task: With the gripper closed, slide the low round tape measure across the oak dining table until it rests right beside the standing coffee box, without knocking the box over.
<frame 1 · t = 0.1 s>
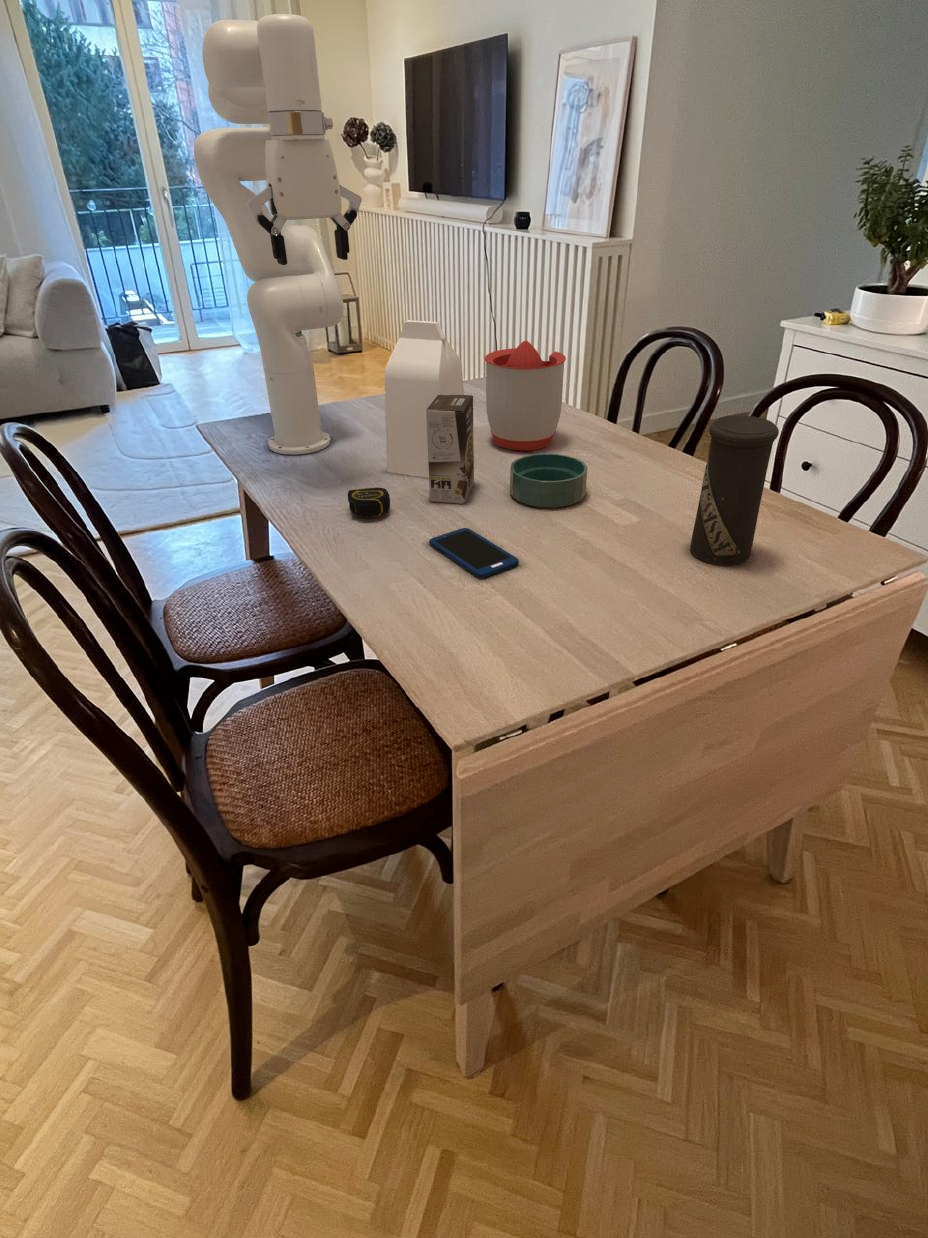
hand: (312, 261, 112), 37 cm above the table, tool pointing down, fingers open, 9 cm apart
citrus juicer: (524, 441, 150), on the table
coffee box: (452, 493, 128), on the table
cell phone: (472, 554, 109), on the table
container: (719, 554, 108), on the table
green bowl: (547, 494, 127), on the table
tape measure: (368, 513, 122), on the table
milk: (428, 466, 139), on the table
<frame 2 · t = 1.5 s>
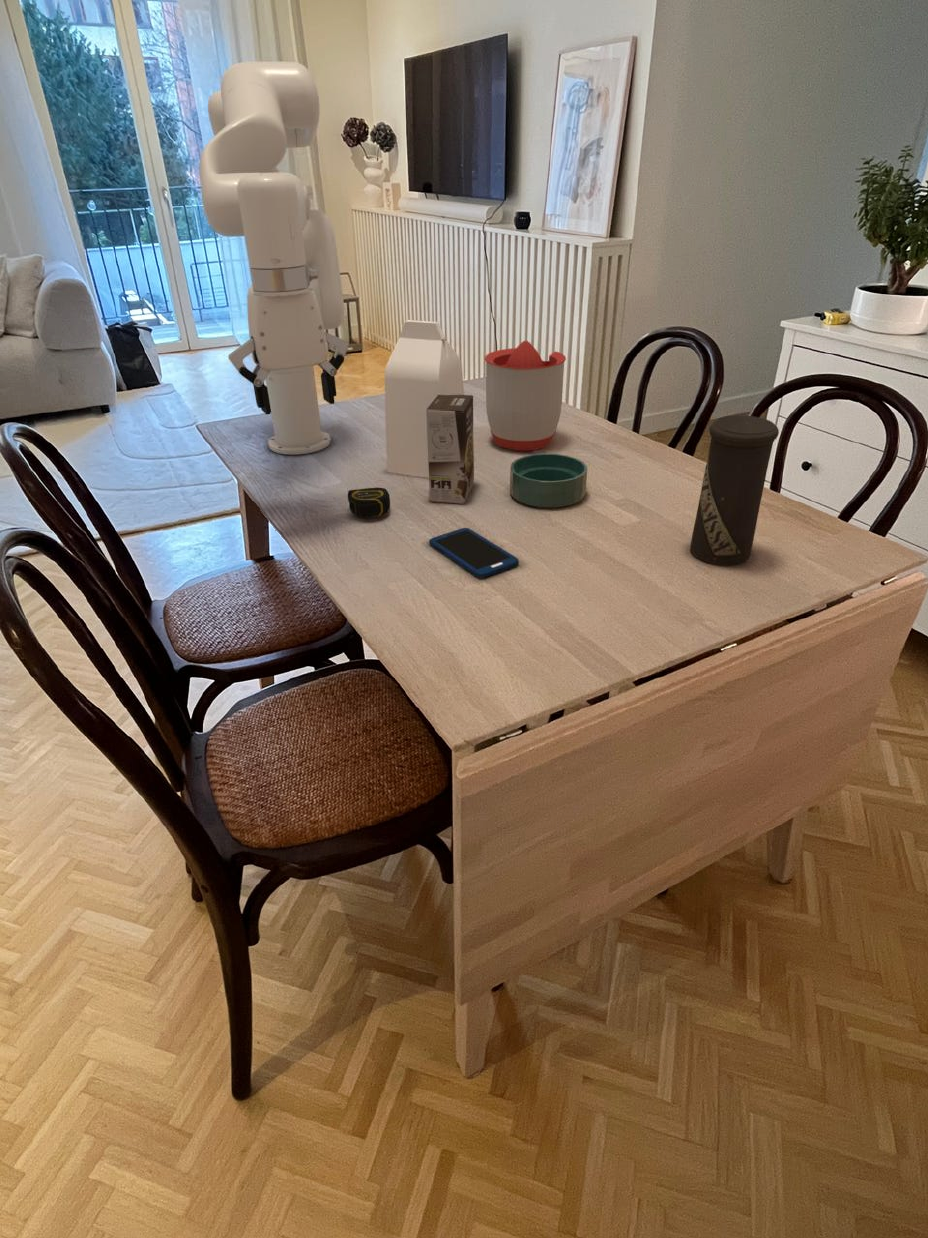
hand: (298, 406, 108), 19 cm above the table, tool pointing down, fingers open, 9 cm apart
nothing on the table moved.
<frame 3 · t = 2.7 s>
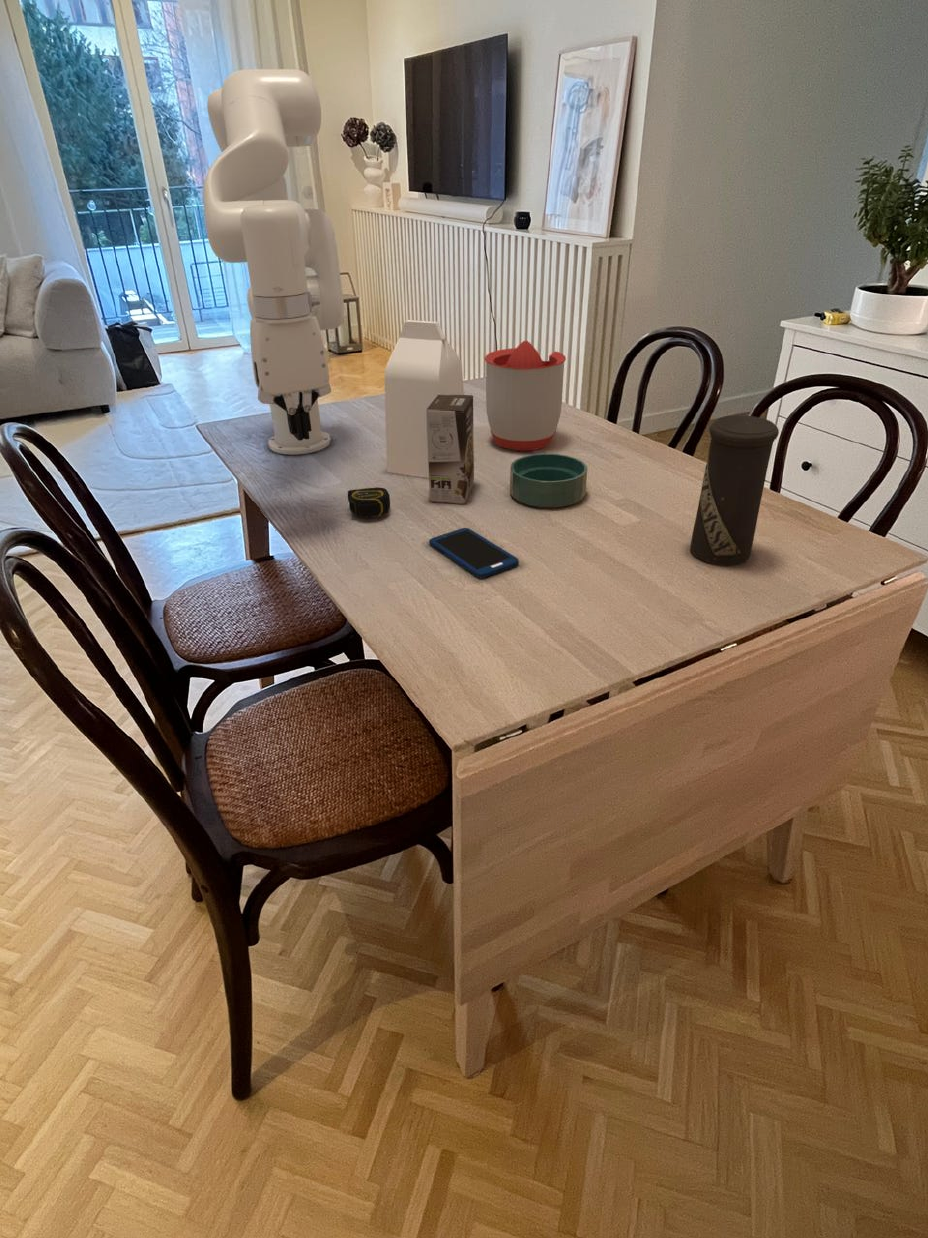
hand: (301, 437, 110), 15 cm above the table, tool pointing down, fingers closed
nothing on the table moved.
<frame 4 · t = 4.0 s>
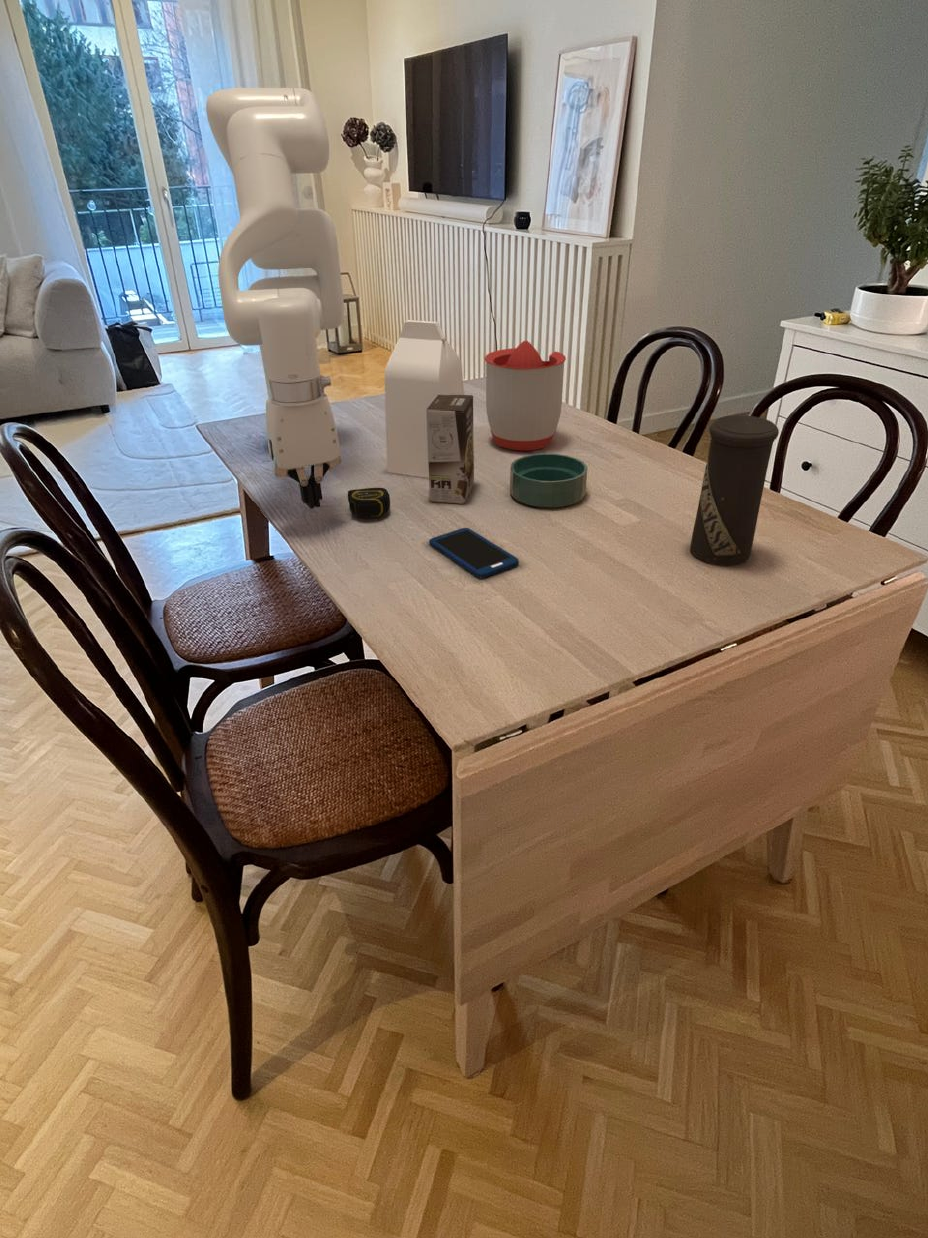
hand: (312, 504, 116), 4 cm above the table, tool pointing down, fingers closed
nothing on the table moved.
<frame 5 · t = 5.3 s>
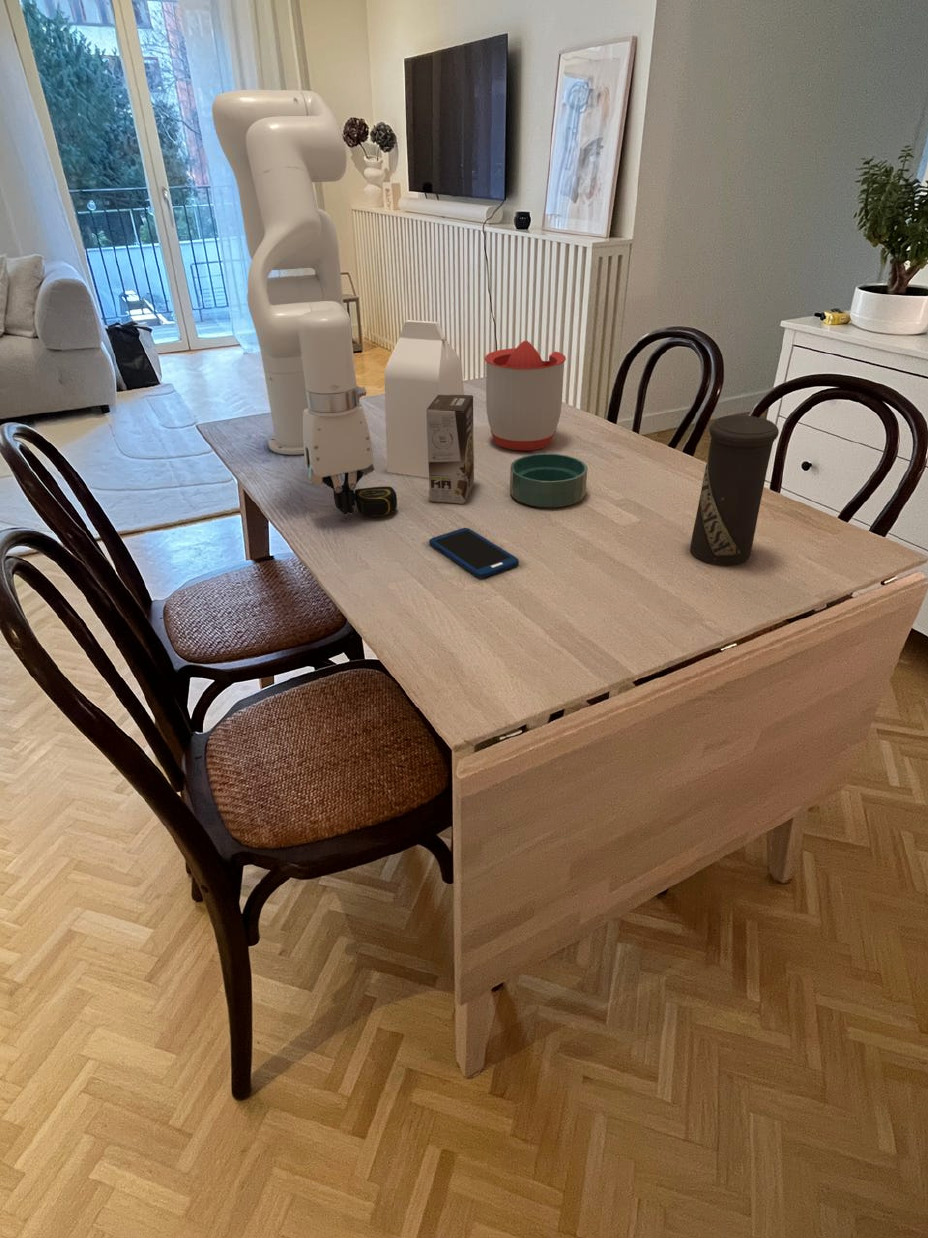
hand: (345, 510, 120), 1 cm above the table, tool pointing down, fingers closed
tape measure: (375, 512, 122), on the table, touching gripper
everything else where it was.
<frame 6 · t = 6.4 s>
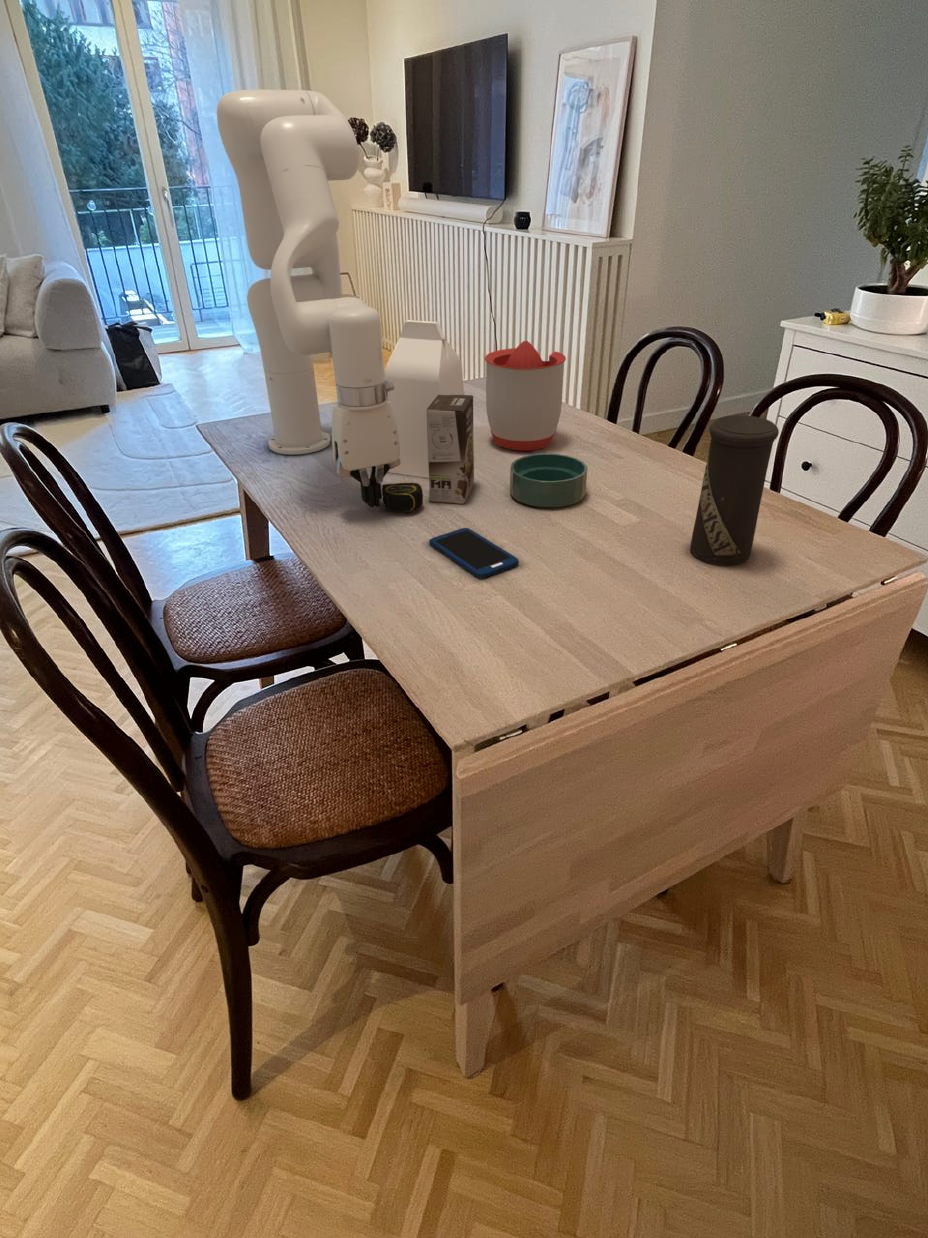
hand: (372, 504, 121), 1 cm above the table, tool pointing down, fingers closed
tape measure: (401, 507, 124), on the table, touching gripper
everything else where it was.
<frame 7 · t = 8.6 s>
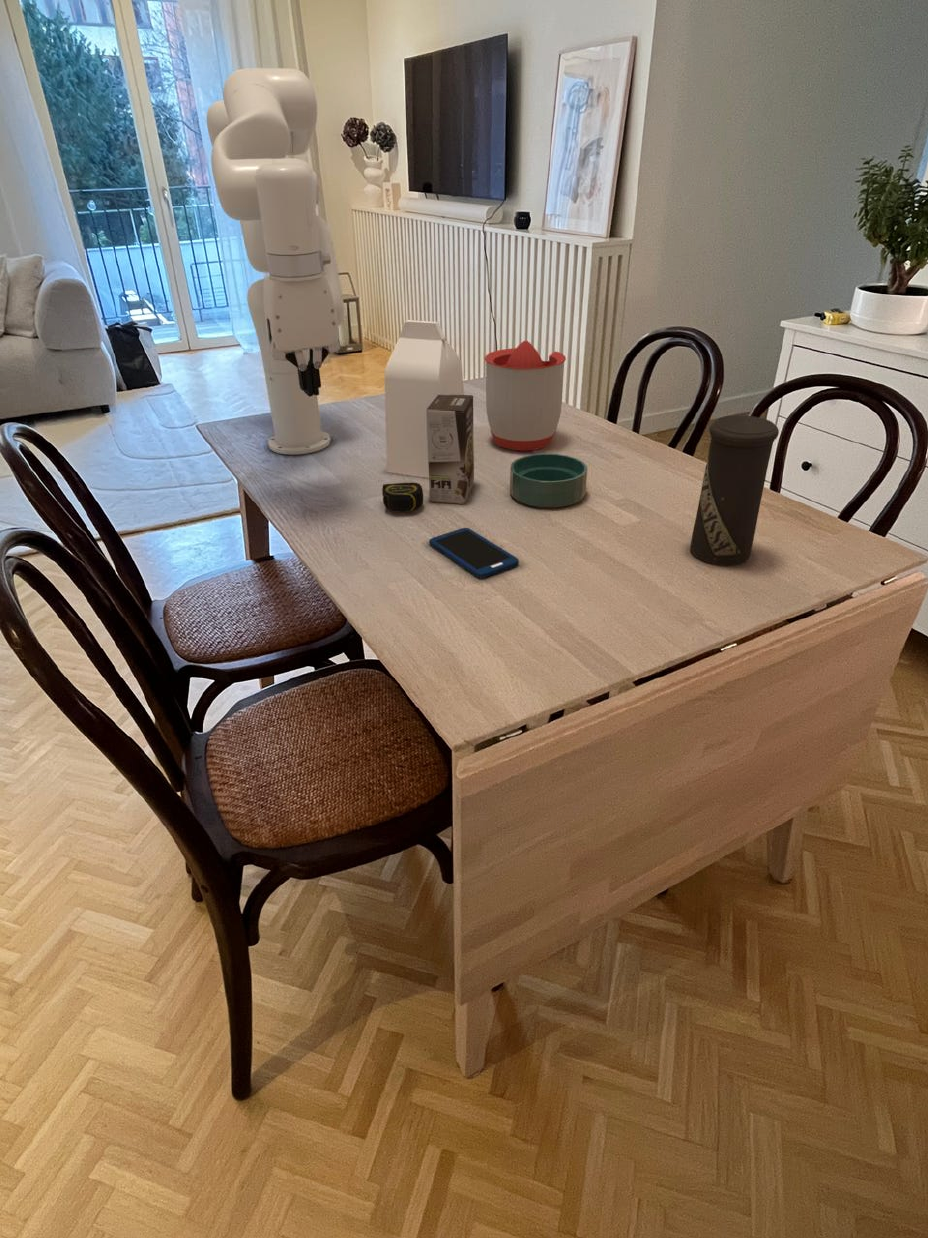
hand: (311, 393, 114), 19 cm above the table, tool pointing down, fingers closed
tape measure: (401, 507, 124), on the table
everything else where it was.
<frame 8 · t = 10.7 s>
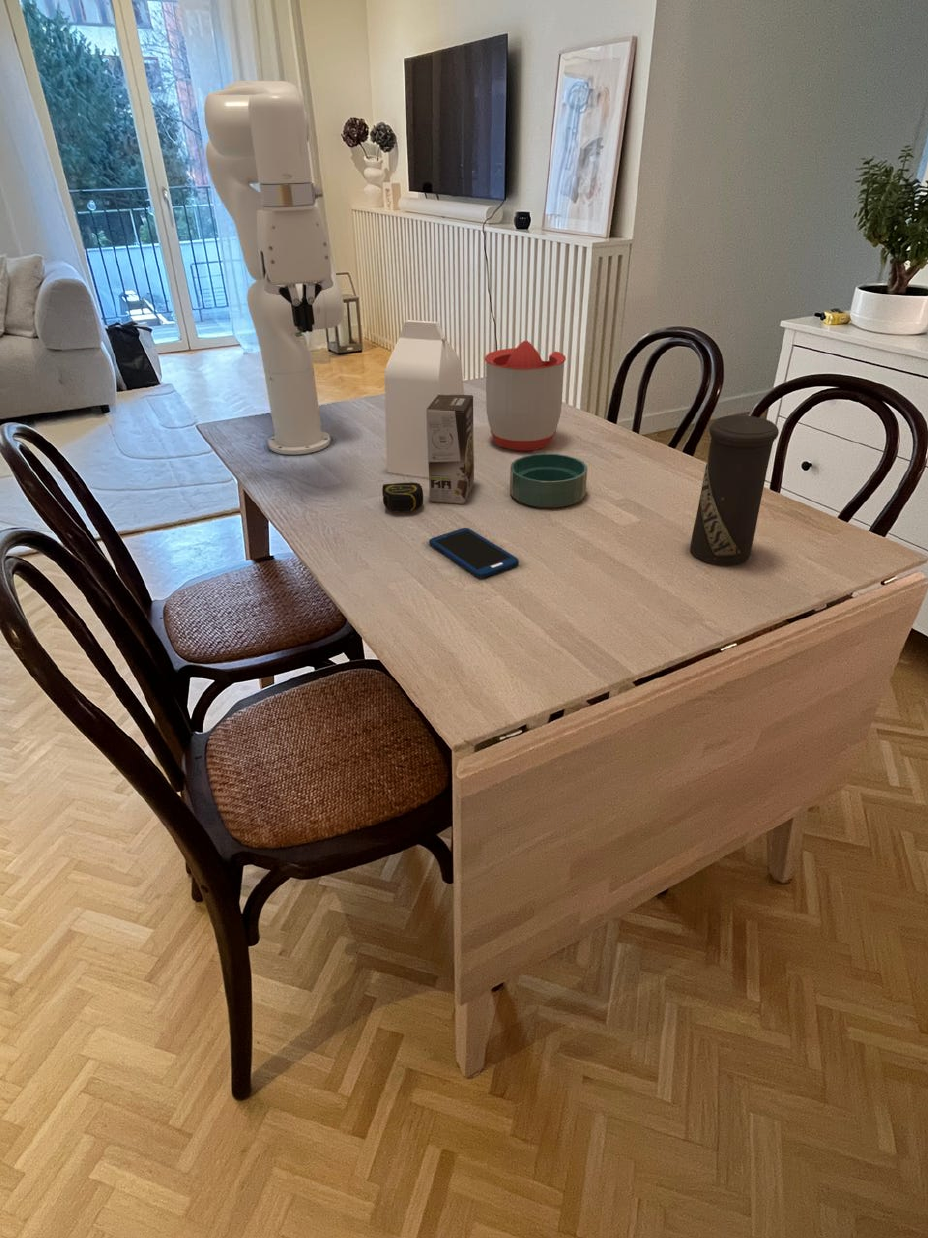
hand: (305, 330, 116), 27 cm above the table, tool pointing down, fingers closed
nothing on the table moved.
at the end: tape measure 10.2 cm from the coffee box (horizontally); coffee box moved 0.2 cm from its start; coffee box tilted 0° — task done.
